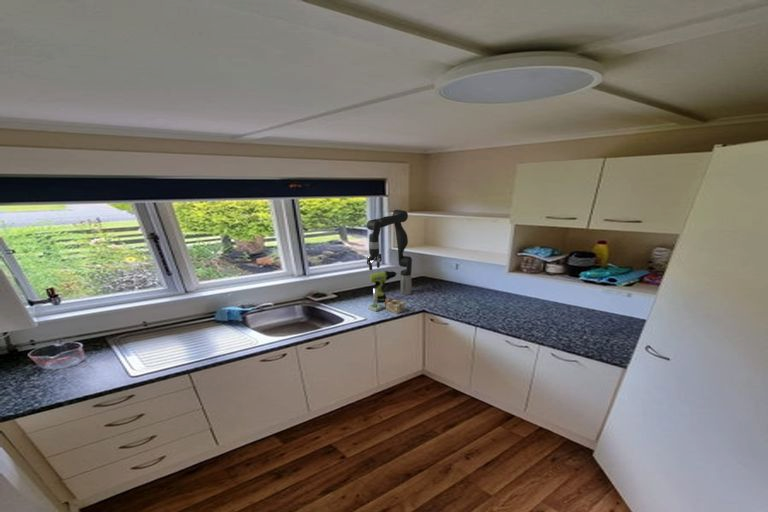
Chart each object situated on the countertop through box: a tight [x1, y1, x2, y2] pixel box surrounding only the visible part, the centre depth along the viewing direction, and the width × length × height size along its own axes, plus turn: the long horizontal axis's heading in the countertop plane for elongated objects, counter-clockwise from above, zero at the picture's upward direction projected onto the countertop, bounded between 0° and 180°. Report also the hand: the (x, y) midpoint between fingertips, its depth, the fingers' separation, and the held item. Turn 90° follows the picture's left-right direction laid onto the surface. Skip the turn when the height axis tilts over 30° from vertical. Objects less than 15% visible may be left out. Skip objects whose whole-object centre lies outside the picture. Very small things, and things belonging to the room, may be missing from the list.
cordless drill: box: [369, 270, 399, 304], centre depth 252 cm, size 23×7×25 cm, turn 99°
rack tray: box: [367, 303, 384, 312], centre depth 237 cm, size 8×8×2 cm
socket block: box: [385, 299, 406, 315], centre depth 234 cm, size 10×10×6 cm
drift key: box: [384, 297, 392, 309], centre depth 238 cm, size 3×3×7 cm
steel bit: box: [372, 287, 379, 308], centre depth 236 cm, size 3×3×16 cm
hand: (374, 268), depth 230 cm, fingers open, 8 cm apart
